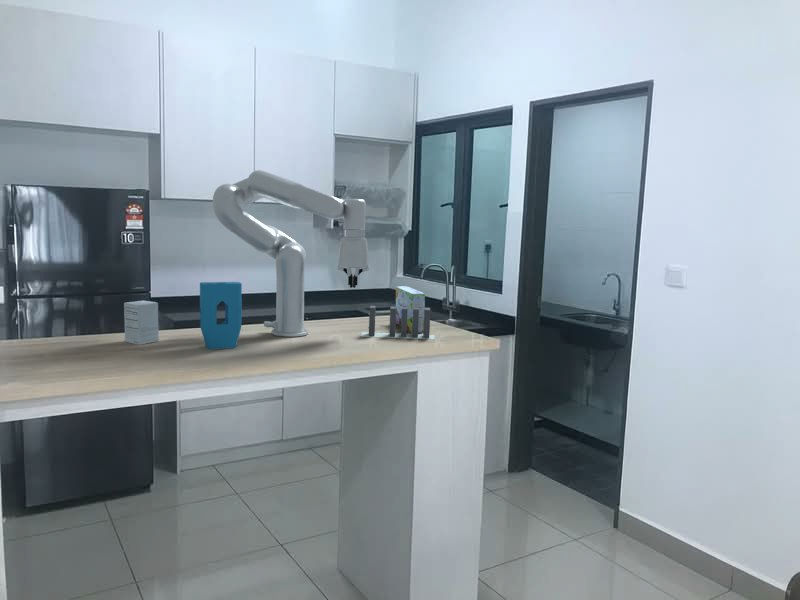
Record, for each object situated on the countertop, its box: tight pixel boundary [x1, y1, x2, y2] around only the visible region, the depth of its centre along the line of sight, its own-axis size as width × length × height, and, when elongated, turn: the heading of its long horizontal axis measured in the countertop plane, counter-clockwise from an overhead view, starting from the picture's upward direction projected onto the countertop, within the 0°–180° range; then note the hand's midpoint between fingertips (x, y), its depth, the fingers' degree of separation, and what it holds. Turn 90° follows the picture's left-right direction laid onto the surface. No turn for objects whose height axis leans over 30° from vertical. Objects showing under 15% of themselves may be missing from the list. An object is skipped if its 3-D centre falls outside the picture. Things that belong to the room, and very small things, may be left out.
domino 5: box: [422, 307, 431, 338], centre depth 222 cm, size 2×5×10 cm, turn 0°
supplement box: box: [123, 300, 160, 346], centre depth 199 cm, size 7×7×13 cm
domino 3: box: [400, 307, 408, 337], centre depth 222 cm, size 2×5×10 cm, turn 0°
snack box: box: [395, 285, 426, 333], centre depth 240 cm, size 21×6×15 cm, turn 17°
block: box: [199, 281, 243, 350], centre depth 195 cm, size 12×5×20 cm, turn 116°
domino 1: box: [367, 305, 377, 336], centre depth 222 cm, size 2×5×10 cm, turn 1°
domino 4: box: [411, 307, 419, 339], centre depth 222 cm, size 2×5×10 cm, turn 0°
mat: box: [360, 331, 436, 340], centre depth 223 cm, size 26×8×1 cm, turn 90°
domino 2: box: [388, 306, 397, 337], centre depth 222 cm, size 2×5×10 cm, turn 0°
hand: (352, 287), depth 221 cm, fingers closed
